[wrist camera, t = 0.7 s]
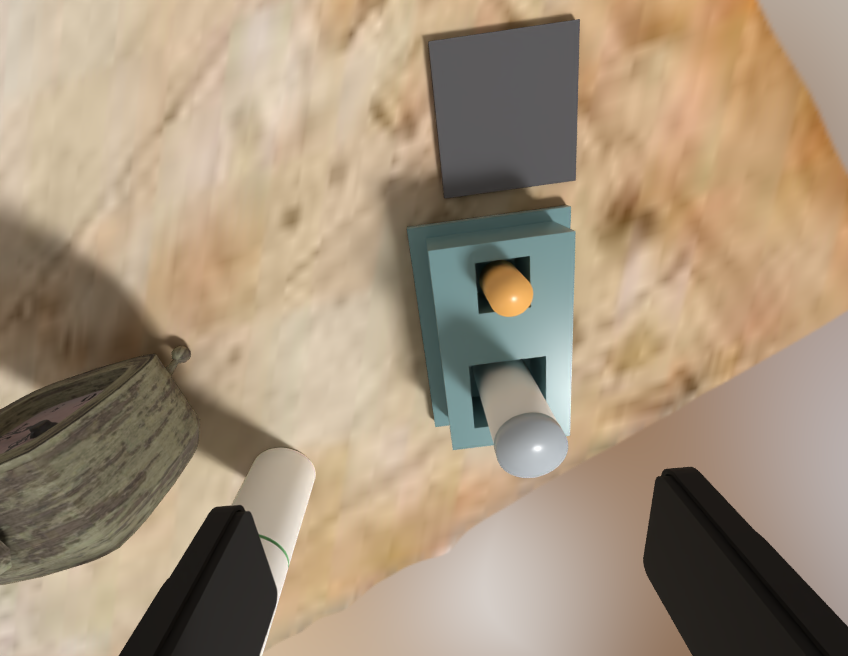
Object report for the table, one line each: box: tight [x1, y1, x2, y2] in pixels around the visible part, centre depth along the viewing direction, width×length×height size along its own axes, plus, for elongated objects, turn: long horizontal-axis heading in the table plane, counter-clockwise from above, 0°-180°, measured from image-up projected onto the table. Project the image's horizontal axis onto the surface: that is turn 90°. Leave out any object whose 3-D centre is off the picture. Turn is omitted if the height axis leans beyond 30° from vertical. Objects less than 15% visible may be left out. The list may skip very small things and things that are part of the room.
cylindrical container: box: [231, 448, 316, 656], centre depth 34 cm, size 7×7×25 cm
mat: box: [428, 19, 580, 198], centre depth 31 cm, size 11×11×1 cm
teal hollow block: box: [407, 205, 575, 450], centre depth 36 cm, size 21×14×6 cm, turn 7°
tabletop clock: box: [0, 346, 200, 585], centre depth 29 cm, size 14×9×25 cm, turn 107°
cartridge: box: [472, 359, 568, 478], centre depth 33 cm, size 5×5×12 cm
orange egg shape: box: [479, 260, 533, 317], centre depth 30 cm, size 3×3×4 cm
